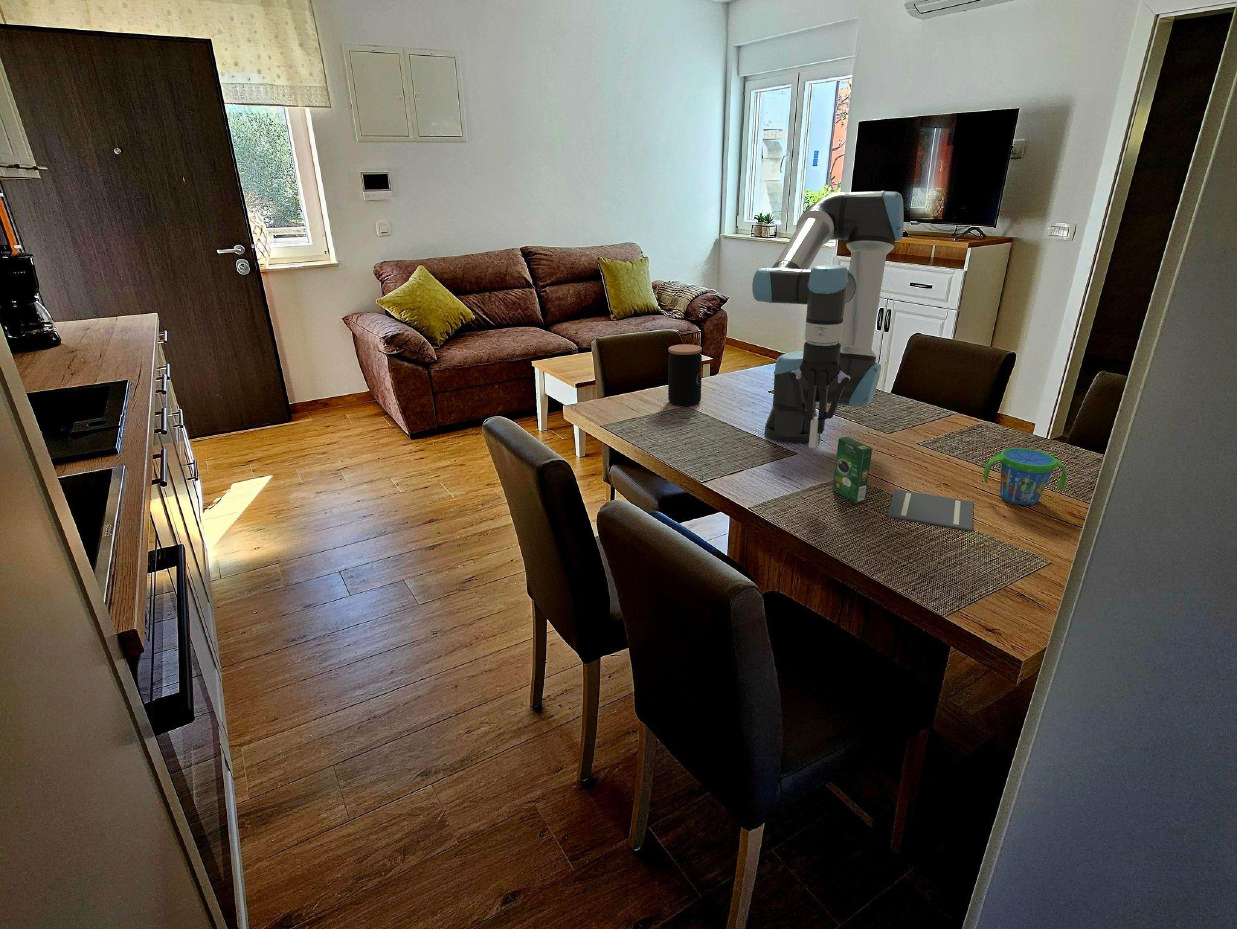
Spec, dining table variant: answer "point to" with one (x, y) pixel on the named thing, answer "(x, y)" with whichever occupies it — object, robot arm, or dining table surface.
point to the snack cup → (1024, 474)
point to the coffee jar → (684, 375)
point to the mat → (932, 509)
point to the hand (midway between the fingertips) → (813, 445)
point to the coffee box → (852, 469)
